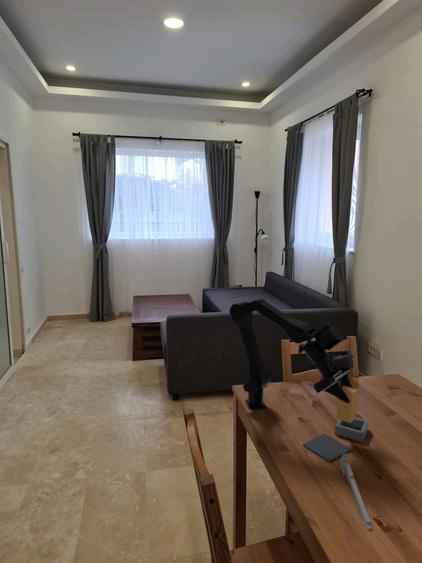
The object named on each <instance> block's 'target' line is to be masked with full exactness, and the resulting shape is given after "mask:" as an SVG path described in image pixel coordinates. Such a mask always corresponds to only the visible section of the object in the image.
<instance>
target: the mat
mask: <svg viewBox="0 0 422 563" xmlns="http://www.w3.org/2000/svg"><path fill="white" fill-rule="evenodd" d="M302 446H303V447H305V448H306V449H308V450H309V451H311V452H313V453H314V454H315V455H317V456H319V457H320V458H321V459H323V460H325V461H326V462H328V463H332V462H333V461H335V460H336V459H339V458H340V457H342V455H343V454H348V453H350V452H351V451H352V448H350V447H349V446H347V445H345V444H343V443H342V442H340V441H338V440H336V439H335V438H333V437H331V436H330V435H328V434H326V433H322V434H321V435H318V436H317V437H315V438H313V439H310V440H308V441H306V442H304V443H302Z"/></svg>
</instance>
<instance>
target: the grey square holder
mask: <svg viewBox="0 0 422 563" xmlns="http://www.w3.org/2000/svg"><path fill="white" fill-rule="evenodd" d="M334 426H335V428H334V435H337V436H341V437H343V438H346V439H347V438H348V439H351V440H353V441H357V442H361V443H363V442H364V440H365V437H366V435H367V432H368V429H369V420H366V419H362V418H358V417H356V418H355V419H354V420H353V421H352V422H351V423H348V422H345V421H342V420H339V419H337V421H336V423H335V425H334Z"/></svg>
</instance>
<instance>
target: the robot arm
mask: <svg viewBox="0 0 422 563" xmlns="http://www.w3.org/2000/svg"><path fill="white" fill-rule="evenodd" d="M253 312H257V313H258V314H260V315H261V316H263V317H265V318H266V319H268V321H270V322H272V323H274V324H275V325H277V327H280V328H281V330H283V331H284V333H285V335H286V336H287V337H288V338H289V339H290V340H291V341H292V342H293V343H295V344H299V345H298V350H297V352H298V354H299V355H300V354H302V353H305V355H306V356H307V358H309V359H310V361H311V362H312V364H313V366H312V368H313V369H314V370H315V369H317V371H318V372H319V373H320V374H321V377H320V379H319V380H318V381H316V382H315V383H314V384H313V389H314V391H315V392H316V394H320V393H321V392H322V391H323V392H326V393H328V394H330V395H331V396H334V398H335V397H336V399H338V398H339V399H340V400H342V401H344V402H345V403H349V402H350V400H349V398H348V397H347V395H346V394H345V392H344V390H343V389H342V386H343V385H344V386H348V387H351V388H354V387H353V385H352V382H351V379H350V376H351V373H352V371H351V370H352V368H354V367H355V366H354V364H355V362H354V357H355V356H354V355H353V354H352V352H350V351H349V350H346V349H345V350H343V351H342V352H341V353H340V355H338V356H335V355H334V353H330V354H329V352H327V351H331V350H332V349H333V348H335V347H336V346H338V345H339V344H340V343H342V342H344V340H345V337H344V334H343V333H342V331H341V330H340V329H338V328H337V327H336V326H334V325H332V324H331V323H326V324H325V325H324V326H323V327H322V328H321V329H318V328H315V327H312V326H311V324H309V323H307V322H305V321H302V320H301V319H296V318H292V317H290V316H289V315H287V314H286V313H284V312H283V311H281V310H280V309H278V308H277V307H275V306H273V305H272V304H270V303H269V302H268V301H266V300H265V299H264V298H256V299H253V300H252V301H250V302H248V301H247V300H246V301H245V300H244V301H239V302H237V303H233V304H232V305H231V306H230V308H229V314H230V315H229V316H230V317H231V320H232V321H233V323H234V325H236V326H237V327H238V330H239V333H240V337H241V340H242V343H243V347H244V351H245V354H246V357H247V361H248V365H249V366H248V373H247V376H248V381H246V382H245V383H244V384H243V385H242V388H243V391H244V392H246V393H247V399H245V401H246V402H245V403H246V405H247V407H248V409H262V408H264V409H265V408H267V405H266V404H265V402H264V389H265V388H267V387H268V385H269V384H271V382H272V379H273V373H272V372H271V371H272V370H271V366H270V365H269V364H267V365H266V364H265V363H264V361H263V359H262V354H261V352H260V348H259V345H258V342H257V339H256V338H257V337H256V334H255V332H254V331H255V330H254V328H253V318H254V314H253ZM314 339H315V340H314ZM304 342H306V343H304ZM349 370H350V371H349Z"/></svg>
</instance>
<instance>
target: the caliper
mask: <svg viewBox="0 0 422 563" xmlns="http://www.w3.org/2000/svg"><path fill="white" fill-rule="evenodd" d="M340 471H341V472H342V477H343V476H344V477H346V480H347V483H348V484H350V485H349V486H350V488H351V491H352V493H353V496H354V499H355V502H356V505H357V507H358V510H359V512H360V516H361V517H362V521H363V523H364V525H365V526H366V530H368V531H373V527H372V524H371V519H370V517H369V514H368V512H367V508H366V506H365V504H364V501H363V498H362V495H361V493H360V490H359V487H358V485H357V482H356V480H355V478H354V473H353V470H352V467H351V465H350V463H349V457H348V453H346V454H343V455H342V456H341V459H340Z"/></svg>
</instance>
